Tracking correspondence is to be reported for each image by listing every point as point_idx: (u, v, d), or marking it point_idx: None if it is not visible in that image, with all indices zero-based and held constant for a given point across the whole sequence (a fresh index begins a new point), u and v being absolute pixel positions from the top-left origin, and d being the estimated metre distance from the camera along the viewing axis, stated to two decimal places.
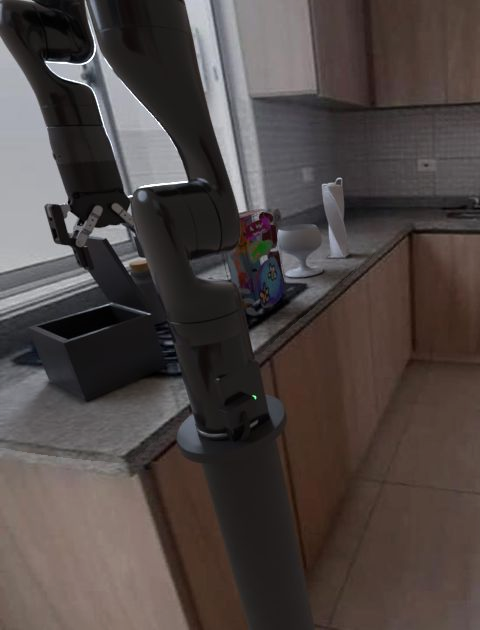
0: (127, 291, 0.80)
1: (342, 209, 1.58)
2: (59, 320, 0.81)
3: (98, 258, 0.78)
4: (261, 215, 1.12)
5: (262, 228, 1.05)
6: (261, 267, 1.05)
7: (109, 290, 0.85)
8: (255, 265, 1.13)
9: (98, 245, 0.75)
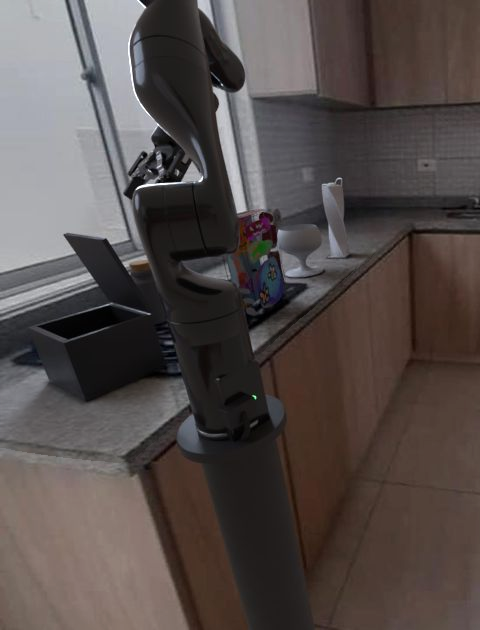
0: (127, 291, 0.80)
1: (342, 209, 1.58)
2: (59, 320, 0.81)
3: (98, 258, 0.78)
4: (261, 215, 1.12)
5: (262, 228, 1.05)
6: (261, 267, 1.05)
7: (109, 290, 0.85)
8: (255, 265, 1.13)
9: (98, 245, 0.75)
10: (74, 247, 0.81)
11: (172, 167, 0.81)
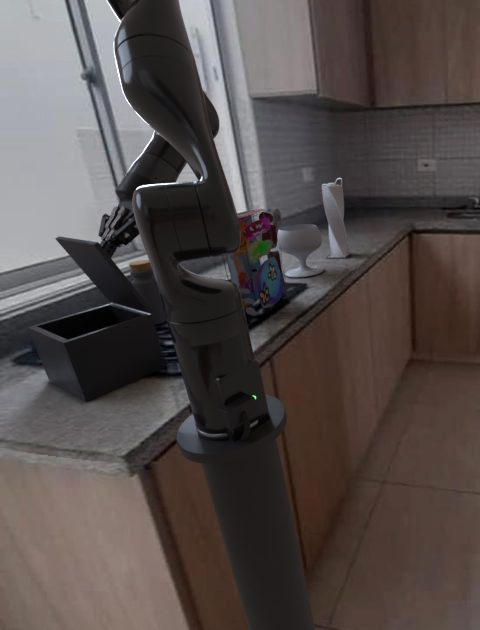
0: (125, 292, 0.80)
1: (342, 209, 1.58)
2: (59, 320, 0.81)
3: (93, 261, 0.77)
4: (261, 215, 1.12)
5: (262, 228, 1.05)
6: (261, 267, 1.05)
7: (108, 291, 0.85)
8: (255, 265, 1.13)
9: (91, 249, 0.74)
10: (68, 251, 0.80)
11: (119, 231, 0.78)
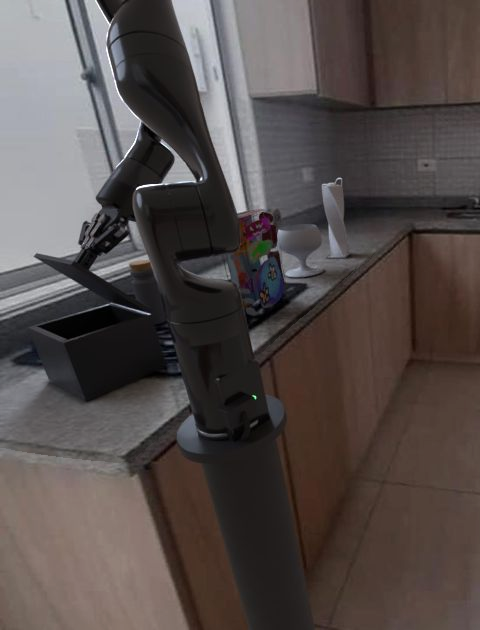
0: (120, 298, 0.79)
1: (342, 209, 1.58)
2: (59, 320, 0.81)
3: (77, 275, 0.76)
4: (261, 215, 1.12)
5: (262, 228, 1.05)
6: (261, 267, 1.05)
7: (104, 295, 0.84)
8: (255, 265, 1.13)
9: (70, 267, 0.72)
10: (50, 266, 0.79)
11: (99, 240, 0.76)
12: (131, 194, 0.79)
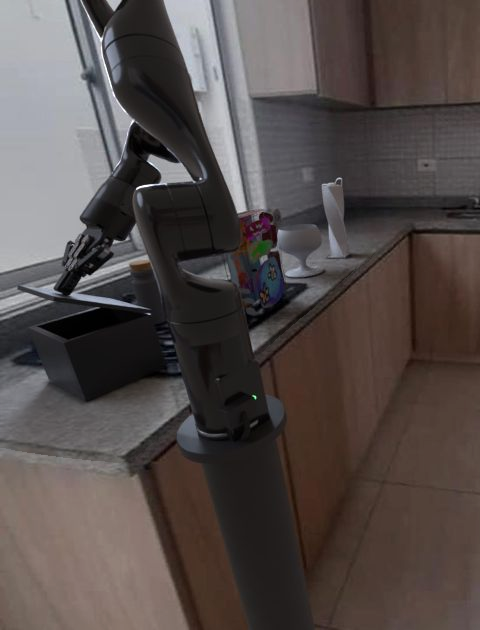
0: None
1: (342, 209, 1.58)
2: (59, 320, 0.81)
3: None
4: (261, 215, 1.12)
5: (262, 228, 1.05)
6: (261, 267, 1.05)
7: None
8: (255, 265, 1.13)
9: None
10: None
11: (82, 262, 0.74)
12: (116, 214, 0.77)
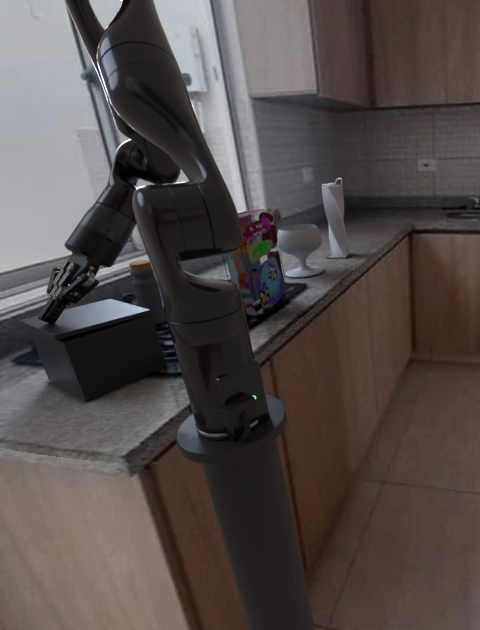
0: None
1: (342, 209, 1.58)
2: None
3: None
4: (261, 215, 1.12)
5: (262, 228, 1.05)
6: (261, 267, 1.05)
7: None
8: (255, 265, 1.13)
9: None
10: None
11: (66, 291, 0.73)
12: (101, 241, 0.76)
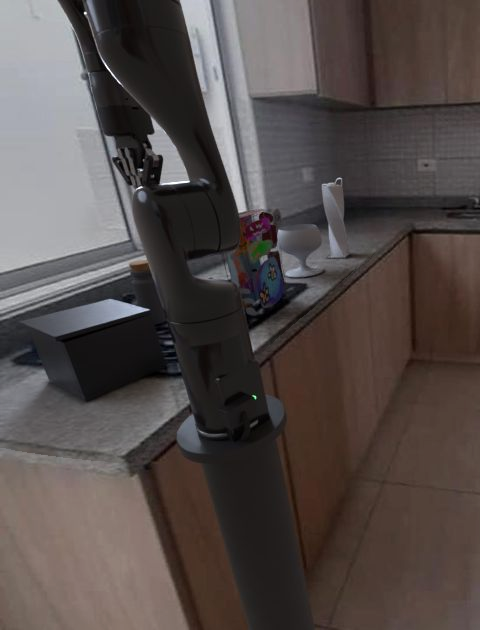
0: None
1: (342, 209, 1.58)
2: None
3: None
4: (261, 215, 1.12)
5: (262, 228, 1.05)
6: (261, 267, 1.05)
7: None
8: (255, 265, 1.13)
9: None
10: None
11: (145, 177, 0.75)
12: (130, 113, 0.72)
